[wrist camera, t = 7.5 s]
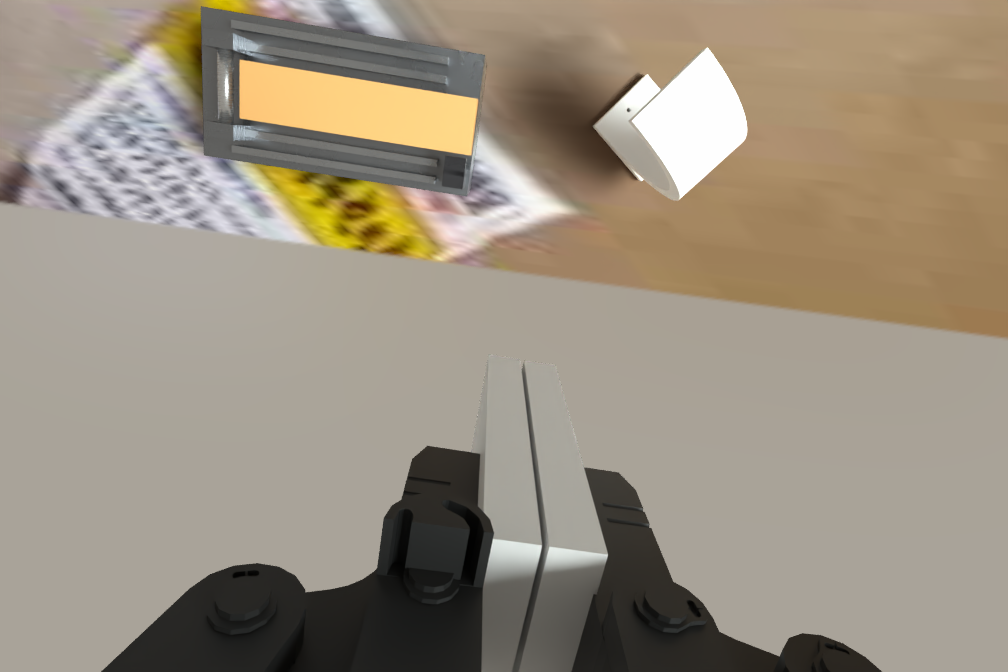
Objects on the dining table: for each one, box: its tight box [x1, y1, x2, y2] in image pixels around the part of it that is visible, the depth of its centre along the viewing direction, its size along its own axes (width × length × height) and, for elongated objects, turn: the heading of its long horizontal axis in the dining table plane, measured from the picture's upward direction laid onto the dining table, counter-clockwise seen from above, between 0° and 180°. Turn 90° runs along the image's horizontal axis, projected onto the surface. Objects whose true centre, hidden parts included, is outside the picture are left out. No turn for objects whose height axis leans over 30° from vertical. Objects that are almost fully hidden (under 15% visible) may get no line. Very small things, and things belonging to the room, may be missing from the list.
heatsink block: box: [201, 6, 487, 196], centre depth 34 cm, size 16×8×8 cm, turn 81°
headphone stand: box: [593, 48, 747, 201], centre depth 33 cm, size 5×6×12 cm
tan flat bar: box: [240, 60, 478, 155], centre depth 32 cm, size 13×3×1 cm, turn 81°
